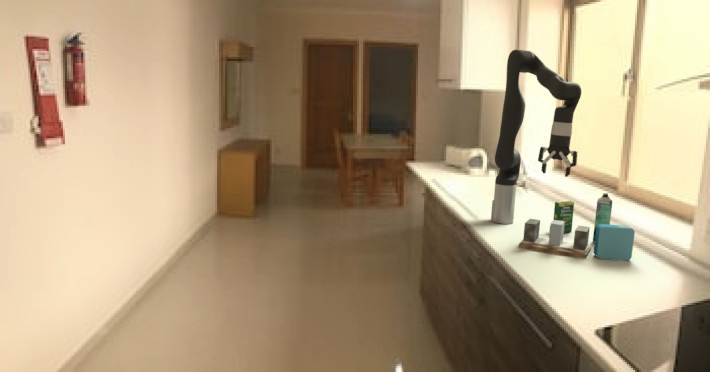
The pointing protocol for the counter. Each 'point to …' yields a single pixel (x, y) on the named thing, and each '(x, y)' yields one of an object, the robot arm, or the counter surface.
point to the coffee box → (564, 214)
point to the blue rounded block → (614, 242)
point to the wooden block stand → (566, 248)
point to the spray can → (602, 212)
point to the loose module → (556, 232)
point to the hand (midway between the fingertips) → (555, 174)
